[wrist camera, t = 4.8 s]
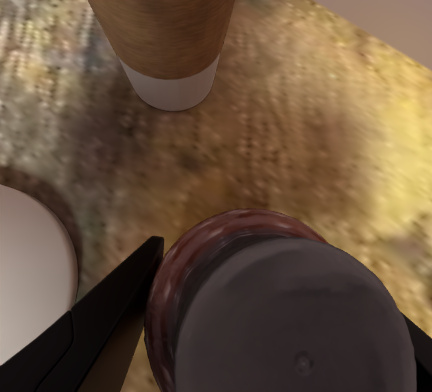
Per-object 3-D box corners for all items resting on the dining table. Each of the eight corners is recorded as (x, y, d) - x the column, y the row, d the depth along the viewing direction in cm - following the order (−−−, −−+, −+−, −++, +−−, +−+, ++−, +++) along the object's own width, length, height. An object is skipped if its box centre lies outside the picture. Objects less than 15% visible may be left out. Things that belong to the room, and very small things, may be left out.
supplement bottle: (158, 246, 15) (59, 234, 4) (248, 216, 16) (380, 137, 5) (187, 348, 14) (168, 744, 3) (282, 310, 15) (553, 490, 4)
